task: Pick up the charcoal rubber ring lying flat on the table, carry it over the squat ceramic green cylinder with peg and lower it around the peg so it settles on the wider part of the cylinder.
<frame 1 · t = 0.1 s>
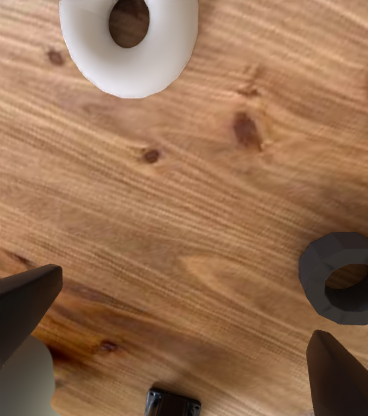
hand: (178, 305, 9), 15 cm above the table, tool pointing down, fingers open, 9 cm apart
donut: (137, 30, 20), on the table
rubber ring: (340, 268, 23), on the table
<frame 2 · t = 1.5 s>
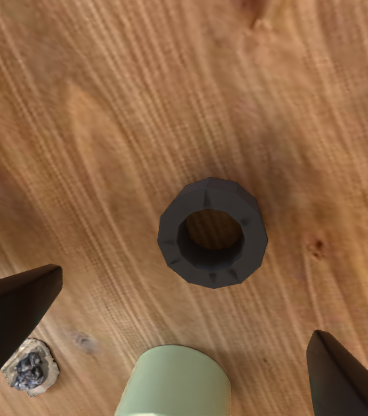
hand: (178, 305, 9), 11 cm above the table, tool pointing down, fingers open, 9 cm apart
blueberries: (32, 361, 29), on the table
green cylinder with peg: (180, 384, 25), on the table
rubber ring: (214, 223, 19), on the table
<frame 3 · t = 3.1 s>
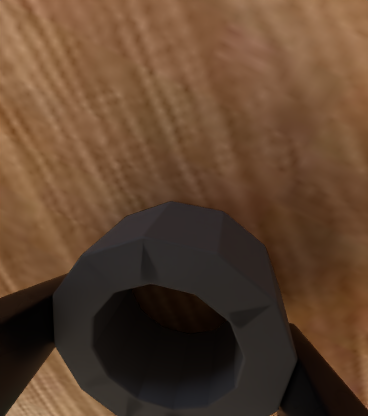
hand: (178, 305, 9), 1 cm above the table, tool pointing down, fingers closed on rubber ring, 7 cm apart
rubber ring: (183, 288, 10), on the table, touching gripper
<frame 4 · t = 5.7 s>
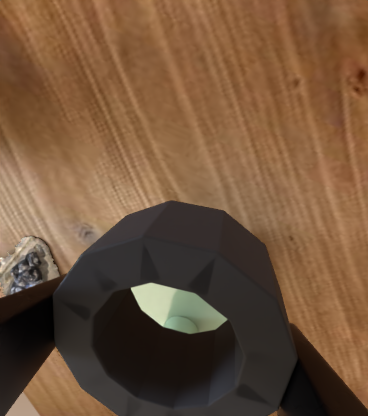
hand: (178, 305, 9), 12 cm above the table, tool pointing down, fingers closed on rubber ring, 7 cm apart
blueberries: (30, 267, 26), on the table
green cylinder with peg: (194, 278, 23), on the table
rubber ring: (183, 287, 10), point 11 cm above the table, touching gripper
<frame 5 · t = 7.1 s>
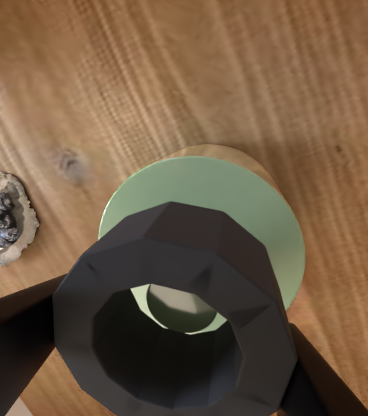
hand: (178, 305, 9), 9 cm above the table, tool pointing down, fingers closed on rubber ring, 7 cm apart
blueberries: (3, 215, 21), on the table
green cylinder with peg: (207, 216, 18), on the table
rubber ring: (183, 287, 10), point 8 cm above the table, touching gripper
when the fingers open (7 cm above the table, at t = 8.3 s): rubber ring stays where it is, resting on green cylinder with peg.
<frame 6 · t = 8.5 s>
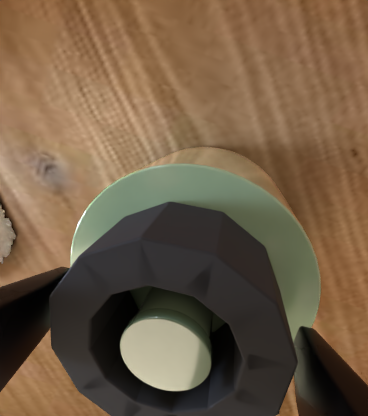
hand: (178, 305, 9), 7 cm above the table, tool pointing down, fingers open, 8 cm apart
green cylinder with peg: (203, 229, 15), on the table
rubber ring: (182, 289, 10), point 6 cm above the table, touching green cylinder with peg
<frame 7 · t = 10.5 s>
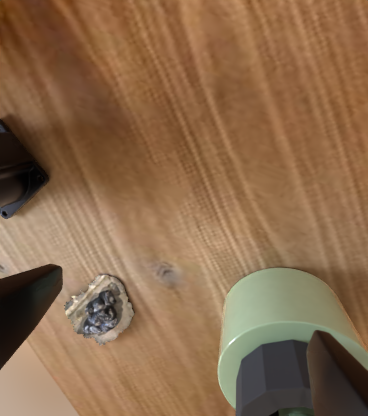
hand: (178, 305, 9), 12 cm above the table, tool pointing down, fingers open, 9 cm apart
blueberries: (101, 304, 26), on the table
green cylinder with peg: (280, 317, 22), on the table
rubber ring: (293, 383, 16), point 6 cm above the table, touching green cylinder with peg
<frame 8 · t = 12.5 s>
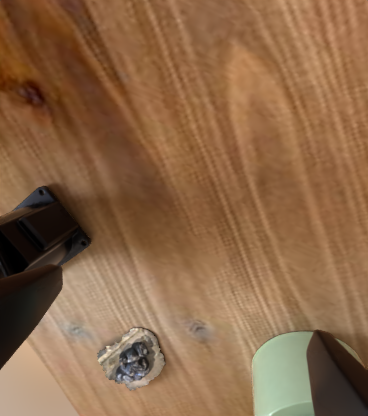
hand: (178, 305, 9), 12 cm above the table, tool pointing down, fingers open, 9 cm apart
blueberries: (133, 352, 27), on the table
green cylinder with peg: (305, 373, 24), on the table
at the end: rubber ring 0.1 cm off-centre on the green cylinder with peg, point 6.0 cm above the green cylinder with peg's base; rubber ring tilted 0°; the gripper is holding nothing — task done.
